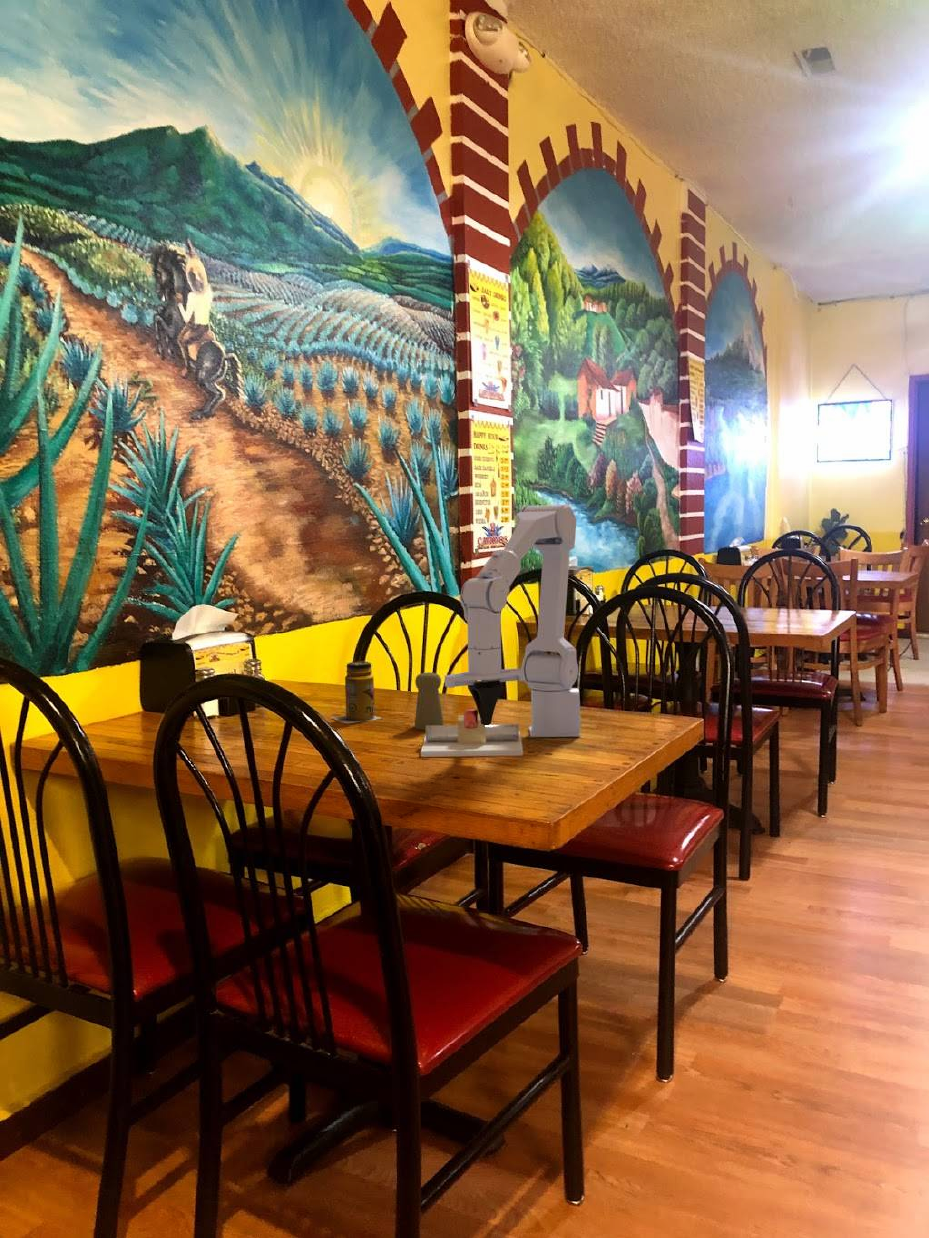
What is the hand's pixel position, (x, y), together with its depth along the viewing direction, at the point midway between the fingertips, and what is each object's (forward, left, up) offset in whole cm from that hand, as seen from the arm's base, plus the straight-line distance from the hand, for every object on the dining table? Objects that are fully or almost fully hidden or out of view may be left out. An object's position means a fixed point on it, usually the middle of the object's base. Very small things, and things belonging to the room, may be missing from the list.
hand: (485, 724), depth 169 cm
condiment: (+28, -36, -6) cm, 46 cm away
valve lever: (+3, -5, 0) cm, 5 cm away
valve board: (+3, -9, -6) cm, 11 cm away
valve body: (+3, -9, -6) cm, 11 cm away
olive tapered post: (+12, -27, -6) cm, 30 cm away
